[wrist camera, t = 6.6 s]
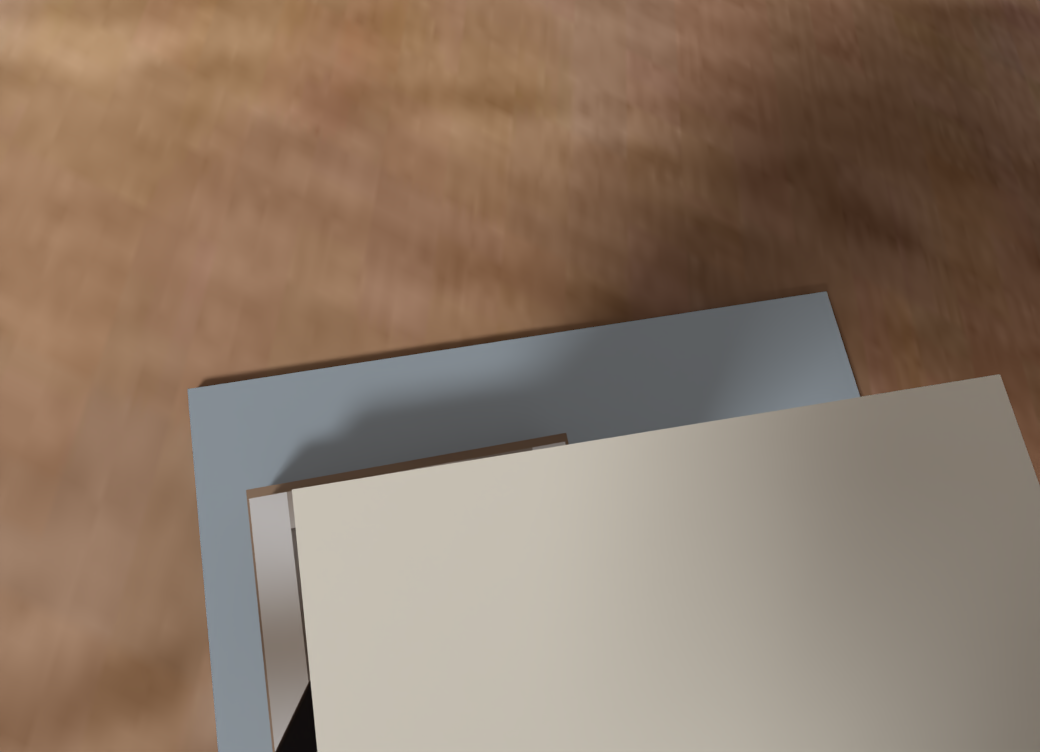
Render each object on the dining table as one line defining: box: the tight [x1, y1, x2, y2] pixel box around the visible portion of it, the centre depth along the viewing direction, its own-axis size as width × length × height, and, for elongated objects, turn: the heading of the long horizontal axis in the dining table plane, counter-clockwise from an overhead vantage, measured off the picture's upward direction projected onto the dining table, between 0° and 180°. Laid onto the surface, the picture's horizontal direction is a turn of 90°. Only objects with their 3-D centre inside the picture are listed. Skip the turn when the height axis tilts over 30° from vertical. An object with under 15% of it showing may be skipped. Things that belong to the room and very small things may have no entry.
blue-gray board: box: [188, 292, 860, 752], centre depth 23 cm, size 18×24×1 cm
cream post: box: [292, 374, 1040, 752], centre depth 10 cm, size 5×5×13 cm
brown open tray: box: [246, 433, 569, 752], centre depth 20 cm, size 10×10×4 cm
